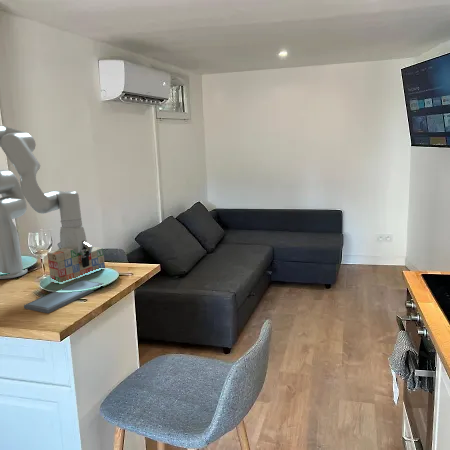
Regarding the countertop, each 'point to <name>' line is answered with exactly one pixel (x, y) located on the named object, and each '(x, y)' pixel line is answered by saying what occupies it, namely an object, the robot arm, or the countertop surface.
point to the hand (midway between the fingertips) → (76, 265)
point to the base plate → (61, 297)
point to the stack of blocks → (72, 263)
